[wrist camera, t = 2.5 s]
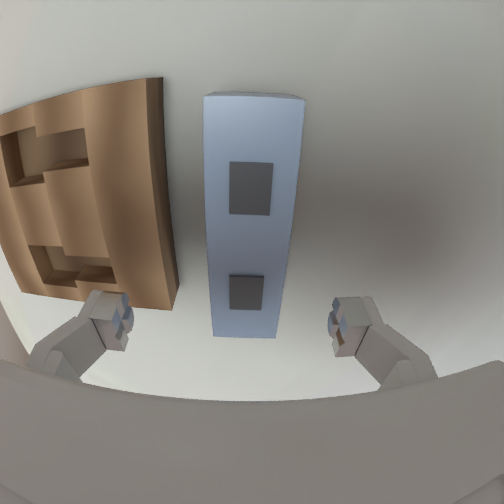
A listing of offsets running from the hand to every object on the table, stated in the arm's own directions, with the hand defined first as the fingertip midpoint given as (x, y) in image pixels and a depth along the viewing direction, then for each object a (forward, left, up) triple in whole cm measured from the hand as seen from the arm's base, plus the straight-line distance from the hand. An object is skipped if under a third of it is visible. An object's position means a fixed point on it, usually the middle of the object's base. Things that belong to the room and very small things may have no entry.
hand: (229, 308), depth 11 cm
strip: (-1, 0, -9) cm, 9 cm away
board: (+13, 0, -10) cm, 16 cm away
